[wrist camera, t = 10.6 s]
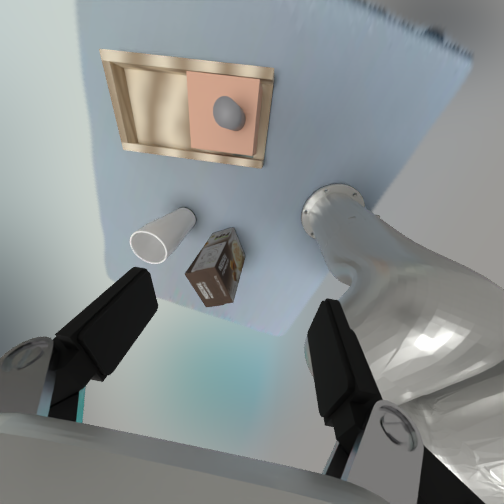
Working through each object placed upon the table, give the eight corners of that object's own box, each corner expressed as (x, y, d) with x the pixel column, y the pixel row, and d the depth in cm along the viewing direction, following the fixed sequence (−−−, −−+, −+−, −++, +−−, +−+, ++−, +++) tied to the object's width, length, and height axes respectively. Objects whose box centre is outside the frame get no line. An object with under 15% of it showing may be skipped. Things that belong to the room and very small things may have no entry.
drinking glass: (166, 211, 43) (120, 239, 30) (188, 198, 41) (148, 224, 28) (184, 234, 46) (148, 269, 33) (204, 224, 44) (175, 257, 31)
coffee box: (210, 233, 45) (182, 272, 31) (234, 226, 43) (214, 265, 29) (225, 262, 49) (205, 308, 35) (246, 257, 47) (234, 303, 34)
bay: (274, 77, 28) (274, 68, 25) (262, 166, 35) (261, 168, 32) (119, 59, 30) (99, 48, 26) (137, 149, 36) (123, 149, 33)
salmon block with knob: (262, 90, 29) (254, 61, 18) (256, 154, 33) (246, 158, 23) (202, 83, 29) (161, 51, 19) (204, 147, 34) (172, 148, 24)
